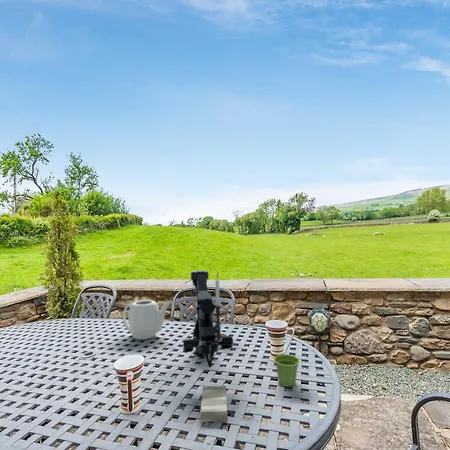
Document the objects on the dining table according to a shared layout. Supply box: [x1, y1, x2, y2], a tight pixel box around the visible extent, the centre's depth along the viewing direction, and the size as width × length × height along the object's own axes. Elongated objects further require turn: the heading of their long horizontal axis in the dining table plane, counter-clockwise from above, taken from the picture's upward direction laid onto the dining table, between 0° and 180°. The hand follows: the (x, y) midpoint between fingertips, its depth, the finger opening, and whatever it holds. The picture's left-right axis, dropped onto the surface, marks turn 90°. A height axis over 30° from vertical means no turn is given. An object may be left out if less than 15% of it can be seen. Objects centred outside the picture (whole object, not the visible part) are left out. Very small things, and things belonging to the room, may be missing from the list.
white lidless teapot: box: [122, 299, 171, 340], centre depth 168 cm, size 16×27×19 cm, turn 83°
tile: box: [200, 385, 228, 423], centre depth 100 cm, size 3×8×15 cm
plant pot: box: [273, 353, 301, 388], centre depth 115 cm, size 9×9×9 cm
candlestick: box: [213, 271, 229, 340], centre depth 163 cm, size 11×11×35 cm
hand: (210, 367), depth 112 cm, fingers closed
